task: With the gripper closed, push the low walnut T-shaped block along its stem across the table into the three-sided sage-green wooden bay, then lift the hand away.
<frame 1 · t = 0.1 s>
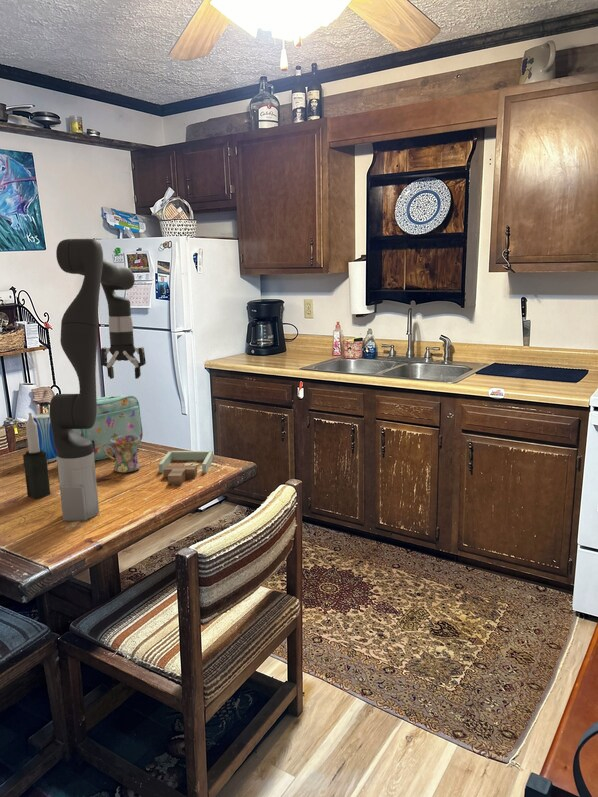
hand: (124, 378, 197), 29 cm above the table, tool pointing down, fingers open, 8 cm apart
mug: (123, 470, 195), on the table
bay: (186, 466, 197), on the table
t block: (178, 479, 185), on the table
lunch box: (108, 454, 212), on the table
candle: (39, 495, 173), on the table
beer can: (48, 460, 206), on the table
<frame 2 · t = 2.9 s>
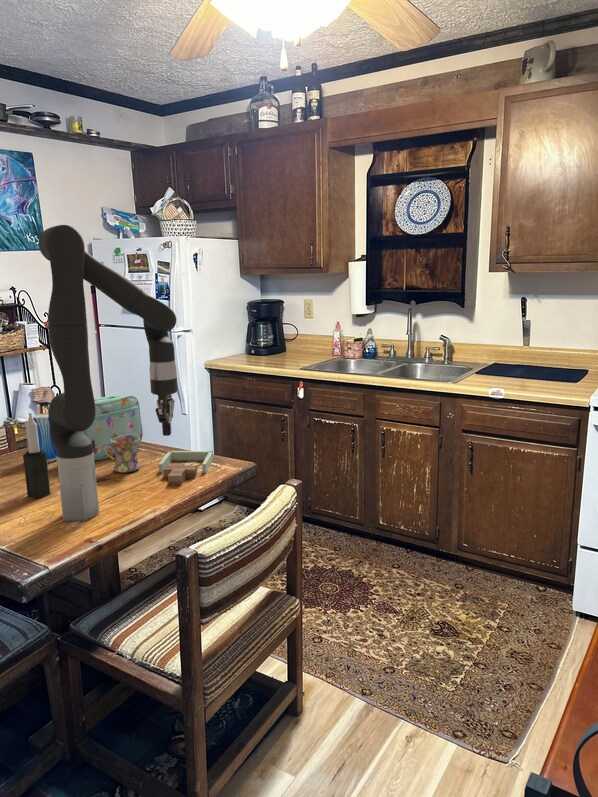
hand: (167, 434, 171), 18 cm above the table, tool pointing down, fingers closed
nothing on the table moved.
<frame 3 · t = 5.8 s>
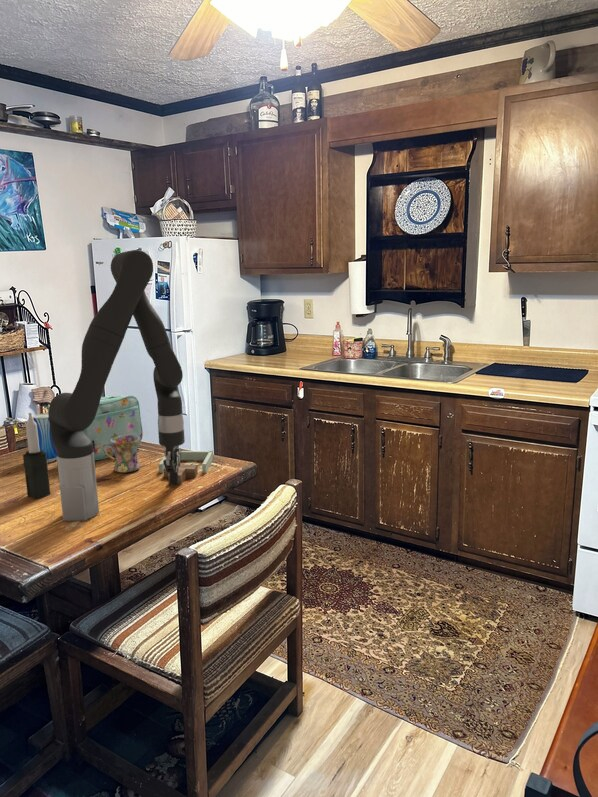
hand: (174, 483, 179), 1 cm above the table, tool pointing down, fingers closed
t block: (178, 478, 186), on the table, touching gripper
everything else where it was.
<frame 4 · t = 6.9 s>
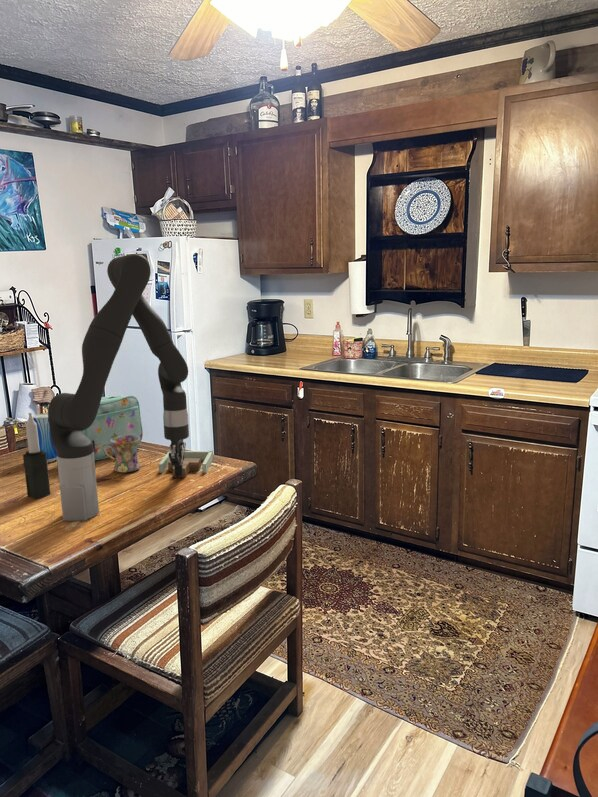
hand: (178, 476, 185), 1 cm above the table, tool pointing down, fingers closed
t block: (182, 472, 192), on the table, touching gripper
everything else where it was.
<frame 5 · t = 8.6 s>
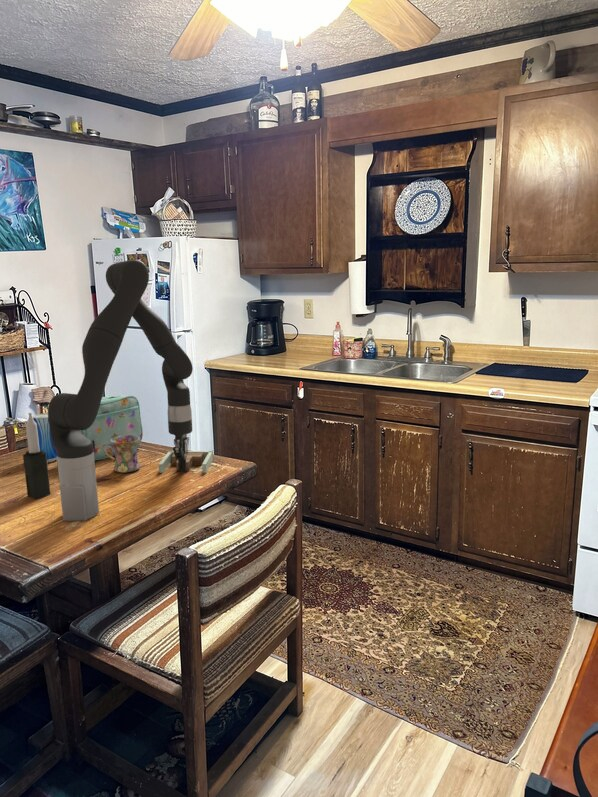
hand: (182, 469, 191), 1 cm above the table, tool pointing down, fingers closed
t block: (186, 465, 198), on the table, touching gripper
everything else where it was.
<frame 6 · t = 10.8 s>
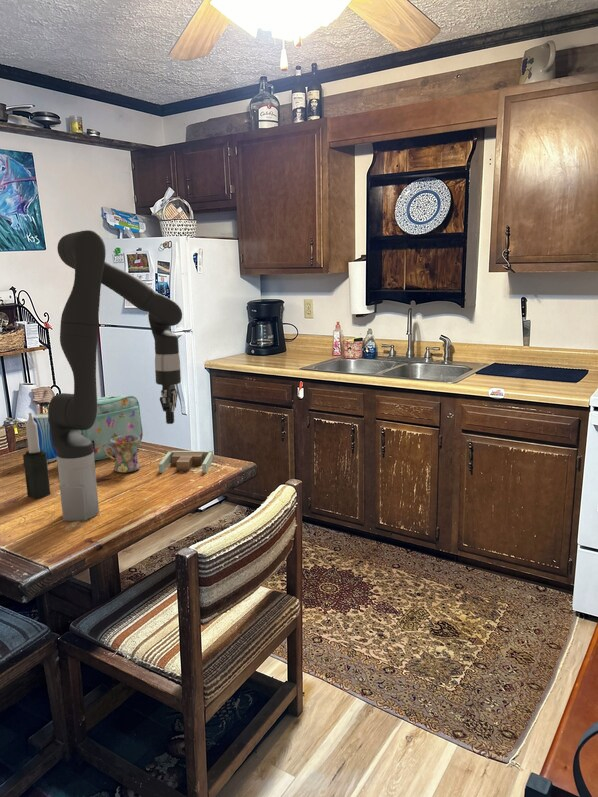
hand: (170, 423, 183), 18 cm above the table, tool pointing down, fingers closed
t block: (186, 465, 198), on the table
everything else where it was.
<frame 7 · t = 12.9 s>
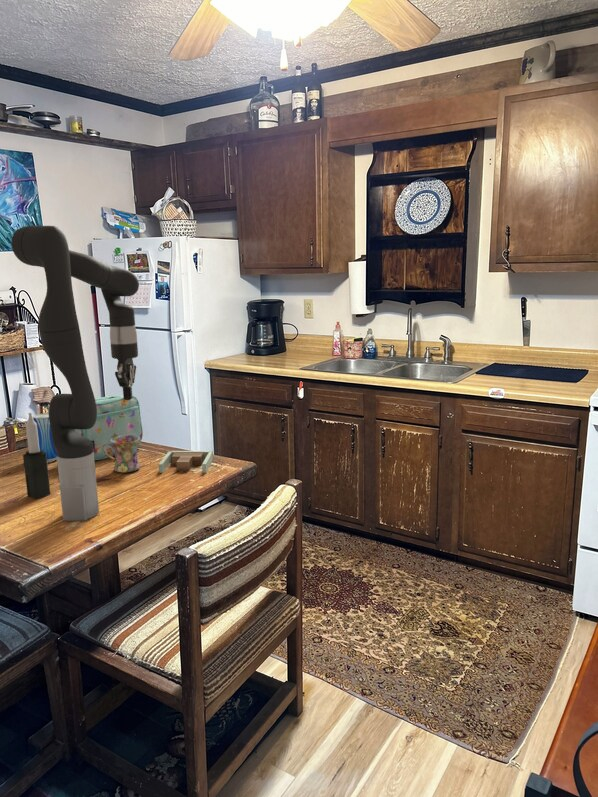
hand: (128, 399, 175), 27 cm above the table, tool pointing down, fingers closed
nothing on the table moved.
at the end: t block 1.0 cm off-centre on the bay, point 0.0 cm above the bay's base; t block tilted 1°; t block moved 13.2 cm from its start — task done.
